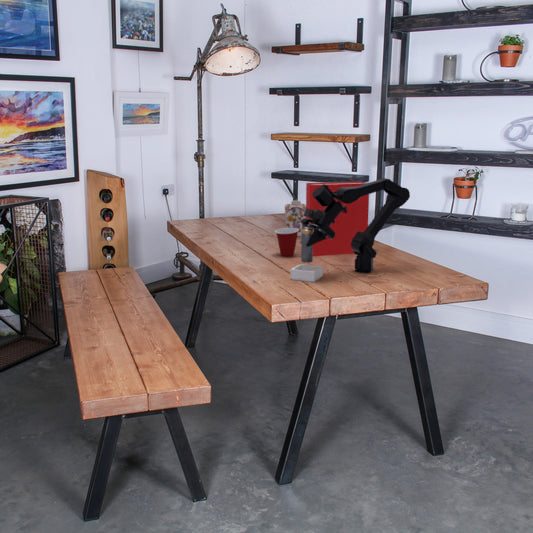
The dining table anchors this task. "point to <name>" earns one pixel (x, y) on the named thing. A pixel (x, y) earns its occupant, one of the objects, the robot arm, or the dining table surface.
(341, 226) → the book
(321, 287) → the dining table surface
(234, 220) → the dining table surface
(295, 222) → the decorative jar
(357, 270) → the robot arm
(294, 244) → the plastic cup
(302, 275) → the bin
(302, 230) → the battery cell
